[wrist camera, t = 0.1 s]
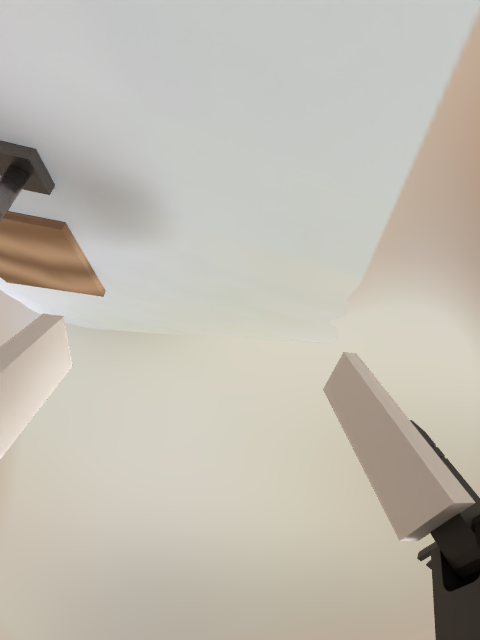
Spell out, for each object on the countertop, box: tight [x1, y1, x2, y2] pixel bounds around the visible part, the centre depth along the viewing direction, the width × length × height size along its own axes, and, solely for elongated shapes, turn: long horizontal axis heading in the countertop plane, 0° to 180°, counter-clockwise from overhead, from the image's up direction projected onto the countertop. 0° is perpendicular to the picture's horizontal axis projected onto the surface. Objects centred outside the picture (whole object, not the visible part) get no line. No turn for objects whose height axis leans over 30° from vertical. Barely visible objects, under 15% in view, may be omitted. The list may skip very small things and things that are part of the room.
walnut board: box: [0, 211, 105, 297], centre depth 29 cm, size 14×13×1 cm
